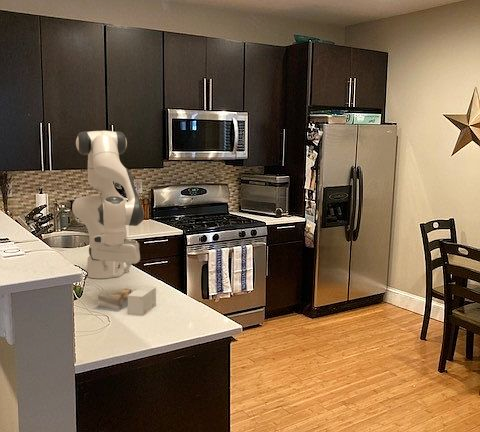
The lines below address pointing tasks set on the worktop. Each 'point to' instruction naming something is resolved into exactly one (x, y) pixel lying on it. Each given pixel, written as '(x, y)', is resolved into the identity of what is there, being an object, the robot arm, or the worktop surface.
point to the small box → (141, 300)
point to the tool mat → (124, 304)
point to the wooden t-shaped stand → (113, 299)
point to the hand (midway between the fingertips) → (116, 271)
